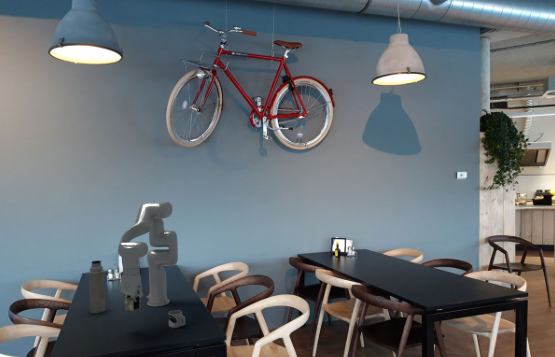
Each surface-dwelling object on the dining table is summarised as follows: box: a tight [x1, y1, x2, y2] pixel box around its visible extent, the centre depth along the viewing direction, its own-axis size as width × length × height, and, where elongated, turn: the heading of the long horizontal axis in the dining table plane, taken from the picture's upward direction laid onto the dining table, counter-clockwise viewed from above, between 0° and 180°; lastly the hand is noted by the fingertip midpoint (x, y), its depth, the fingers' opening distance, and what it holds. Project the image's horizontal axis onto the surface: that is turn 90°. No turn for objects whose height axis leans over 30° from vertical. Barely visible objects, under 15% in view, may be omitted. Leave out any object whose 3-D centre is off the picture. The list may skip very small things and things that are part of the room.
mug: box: [168, 309, 186, 329], centre depth 213 cm, size 10×7×7 cm
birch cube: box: [124, 296, 137, 312], centre depth 208 cm, size 5×5×5 cm
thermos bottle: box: [88, 260, 107, 314], centre depth 239 cm, size 8×8×28 cm
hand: (132, 307), depth 208 cm, fingers closed on birch cube, 5 cm apart
